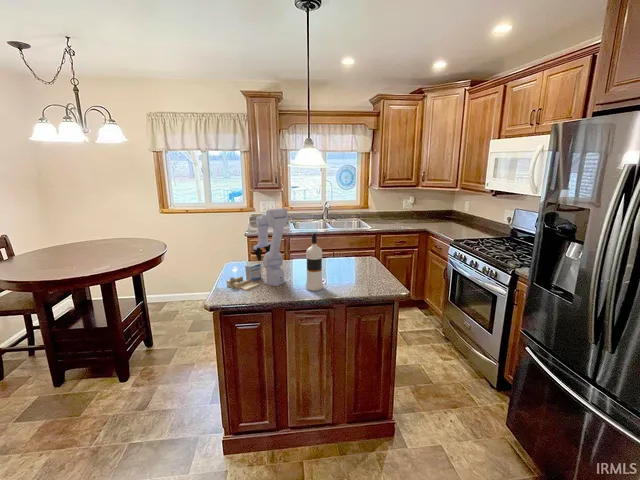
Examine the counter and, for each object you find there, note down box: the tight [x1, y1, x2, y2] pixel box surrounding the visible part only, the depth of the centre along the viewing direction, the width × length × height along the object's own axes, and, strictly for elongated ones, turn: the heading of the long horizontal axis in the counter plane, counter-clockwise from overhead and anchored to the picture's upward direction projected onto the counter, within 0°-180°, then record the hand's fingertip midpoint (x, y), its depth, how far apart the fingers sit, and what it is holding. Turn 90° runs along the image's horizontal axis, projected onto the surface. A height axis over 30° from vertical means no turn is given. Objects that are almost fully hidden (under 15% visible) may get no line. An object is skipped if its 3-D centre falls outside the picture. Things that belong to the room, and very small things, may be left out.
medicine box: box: [244, 262, 262, 282], centre depth 185 cm, size 8×4×9 cm, turn 143°
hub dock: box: [226, 275, 260, 292], centre depth 175 cm, size 14×11×5 cm
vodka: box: [305, 232, 324, 292], centre depth 168 cm, size 9×9×30 cm
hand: (264, 258), depth 191 cm, fingers open, 7 cm apart
